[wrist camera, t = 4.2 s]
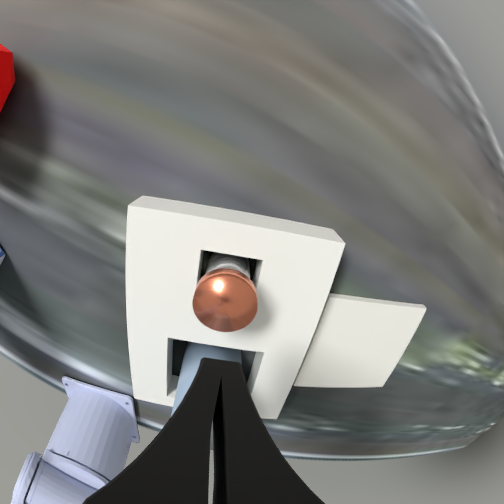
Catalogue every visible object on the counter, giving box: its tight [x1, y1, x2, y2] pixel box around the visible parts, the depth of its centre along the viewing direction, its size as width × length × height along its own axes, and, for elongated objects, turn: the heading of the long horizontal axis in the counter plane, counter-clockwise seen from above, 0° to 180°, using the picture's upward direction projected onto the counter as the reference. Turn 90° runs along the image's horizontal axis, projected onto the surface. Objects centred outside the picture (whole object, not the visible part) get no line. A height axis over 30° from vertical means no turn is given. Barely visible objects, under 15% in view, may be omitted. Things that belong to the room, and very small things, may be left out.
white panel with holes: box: [126, 196, 345, 419], centre depth 19 cm, size 16×12×2 cm
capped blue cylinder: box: [171, 341, 242, 450], centre depth 18 cm, size 4×4×8 cm
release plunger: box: [192, 252, 258, 332], centre depth 16 cm, size 3×3×4 cm
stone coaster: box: [293, 293, 427, 387], centre depth 22 cm, size 9×9×1 cm
